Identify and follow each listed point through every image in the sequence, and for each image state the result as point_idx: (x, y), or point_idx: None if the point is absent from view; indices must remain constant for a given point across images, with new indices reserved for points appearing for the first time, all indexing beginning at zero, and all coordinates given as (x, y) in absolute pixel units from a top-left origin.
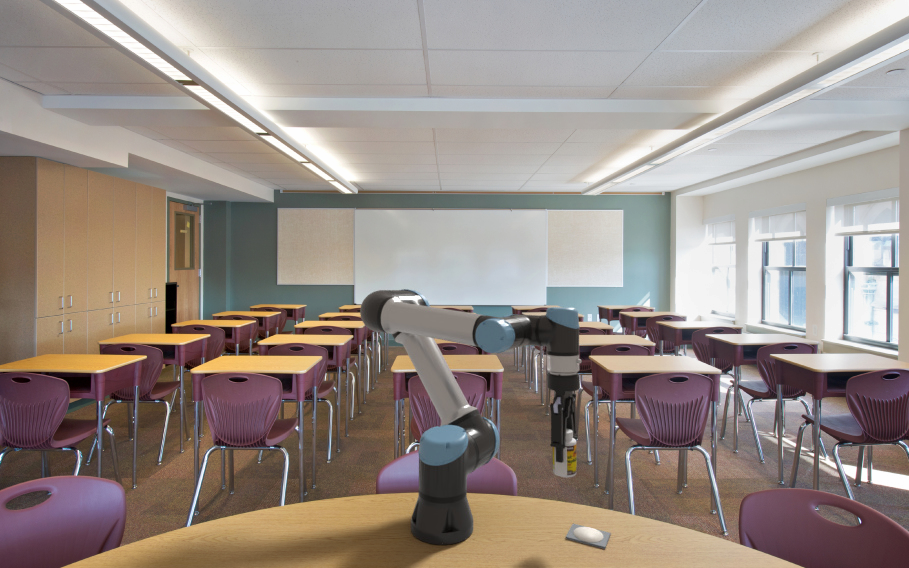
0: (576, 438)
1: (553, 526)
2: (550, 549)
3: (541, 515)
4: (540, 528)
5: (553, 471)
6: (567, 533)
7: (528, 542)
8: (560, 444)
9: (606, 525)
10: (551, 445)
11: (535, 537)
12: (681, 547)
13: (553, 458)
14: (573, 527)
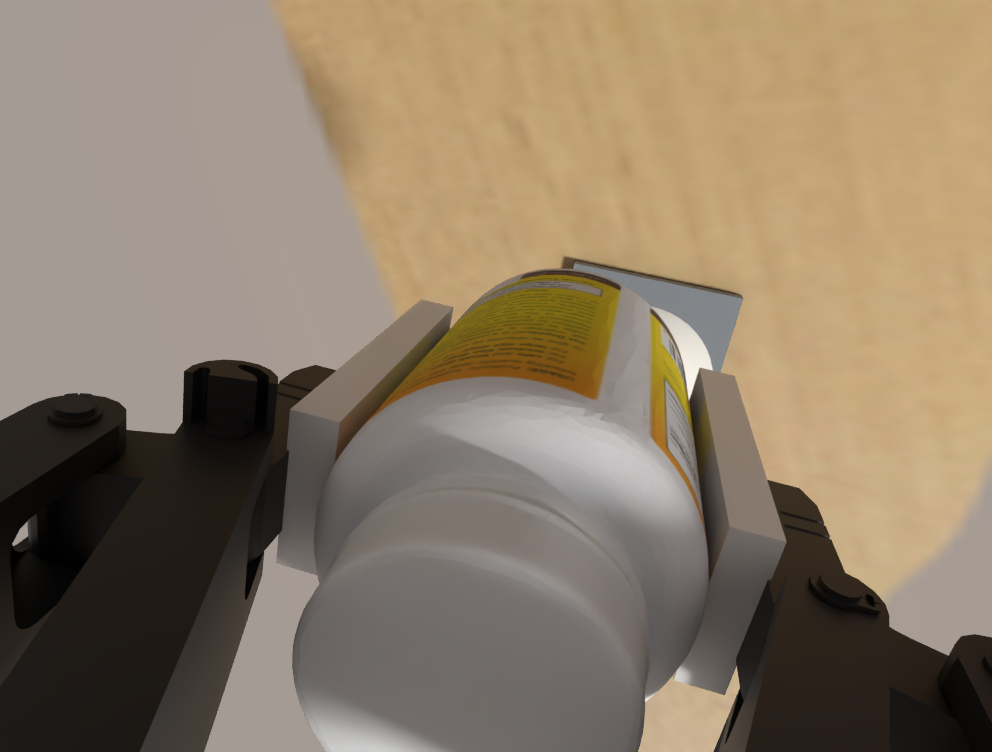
0: (719, 743)
1: (701, 182)
2: (444, 189)
3: (840, 85)
4: (653, 104)
5: (506, 280)
6: (611, 272)
7: (470, 57)
8: (26, 551)
9: (787, 470)
10: (49, 403)
11: (537, 90)
12: (655, 727)
13: (468, 321)
14: (691, 303)
